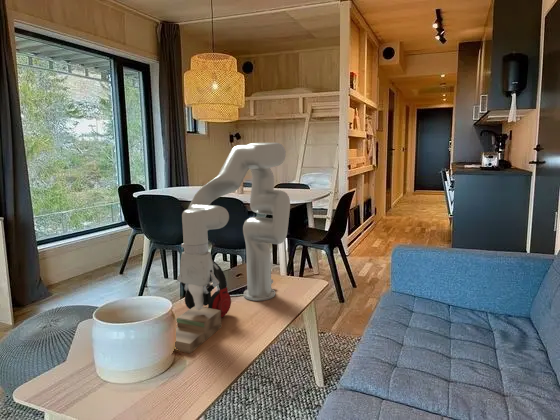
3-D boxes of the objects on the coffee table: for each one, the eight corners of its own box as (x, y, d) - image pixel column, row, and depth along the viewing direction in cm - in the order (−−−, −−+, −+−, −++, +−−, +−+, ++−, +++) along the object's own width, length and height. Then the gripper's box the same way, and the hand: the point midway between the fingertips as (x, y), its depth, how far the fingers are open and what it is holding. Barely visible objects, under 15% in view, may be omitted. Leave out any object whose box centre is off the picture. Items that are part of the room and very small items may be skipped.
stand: (195, 322, 139) (194, 305, 138) (221, 327, 135) (220, 310, 134) (162, 347, 122) (160, 328, 121) (190, 353, 119) (189, 334, 118)
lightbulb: (211, 311, 130) (209, 278, 128) (192, 315, 127) (190, 281, 125) (205, 304, 135) (203, 272, 133) (187, 308, 132) (185, 275, 131)
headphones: (235, 314, 145) (234, 260, 141) (215, 324, 137) (213, 267, 134) (201, 303, 155) (199, 252, 152) (181, 312, 147) (178, 259, 144)
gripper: (166, 248, 127) (169, 303, 131) (213, 253, 121) (216, 311, 124) (180, 243, 134) (183, 295, 137) (226, 247, 128) (228, 302, 131)
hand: (199, 302), depth 131 cm, fingers closed on lightbulb, 5 cm apart
